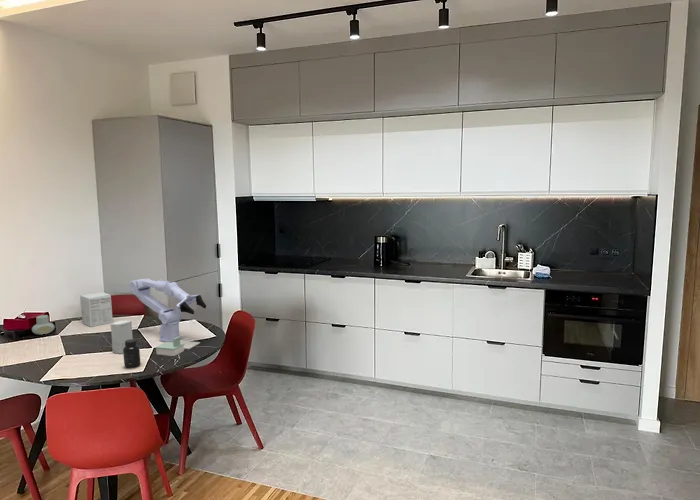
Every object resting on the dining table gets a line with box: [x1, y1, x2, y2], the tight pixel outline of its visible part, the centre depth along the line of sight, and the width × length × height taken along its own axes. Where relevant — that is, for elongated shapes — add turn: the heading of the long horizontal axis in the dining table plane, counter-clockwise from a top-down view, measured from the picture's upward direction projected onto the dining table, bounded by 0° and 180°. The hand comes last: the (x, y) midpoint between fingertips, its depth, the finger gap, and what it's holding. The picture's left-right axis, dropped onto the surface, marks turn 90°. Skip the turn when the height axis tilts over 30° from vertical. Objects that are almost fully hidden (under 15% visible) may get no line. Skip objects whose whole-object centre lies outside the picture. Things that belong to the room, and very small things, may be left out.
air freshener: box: [31, 314, 56, 336], centre depth 275 cm, size 11×8×10 cm
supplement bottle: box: [122, 338, 141, 369], centre depth 222 cm, size 7×7×12 cm
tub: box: [155, 345, 185, 357], centre depth 240 cm, size 10×8×3 cm
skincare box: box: [110, 319, 134, 355], centre depth 243 cm, size 8×6×15 cm
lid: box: [155, 336, 184, 350], centre depth 240 cm, size 10×8×6 cm
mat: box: [180, 340, 201, 350], centre depth 252 cm, size 12×10×1 cm
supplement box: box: [79, 291, 114, 328], centre depth 295 cm, size 13×13×18 cm
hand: (199, 309), depth 248 cm, fingers open, 7 cm apart
